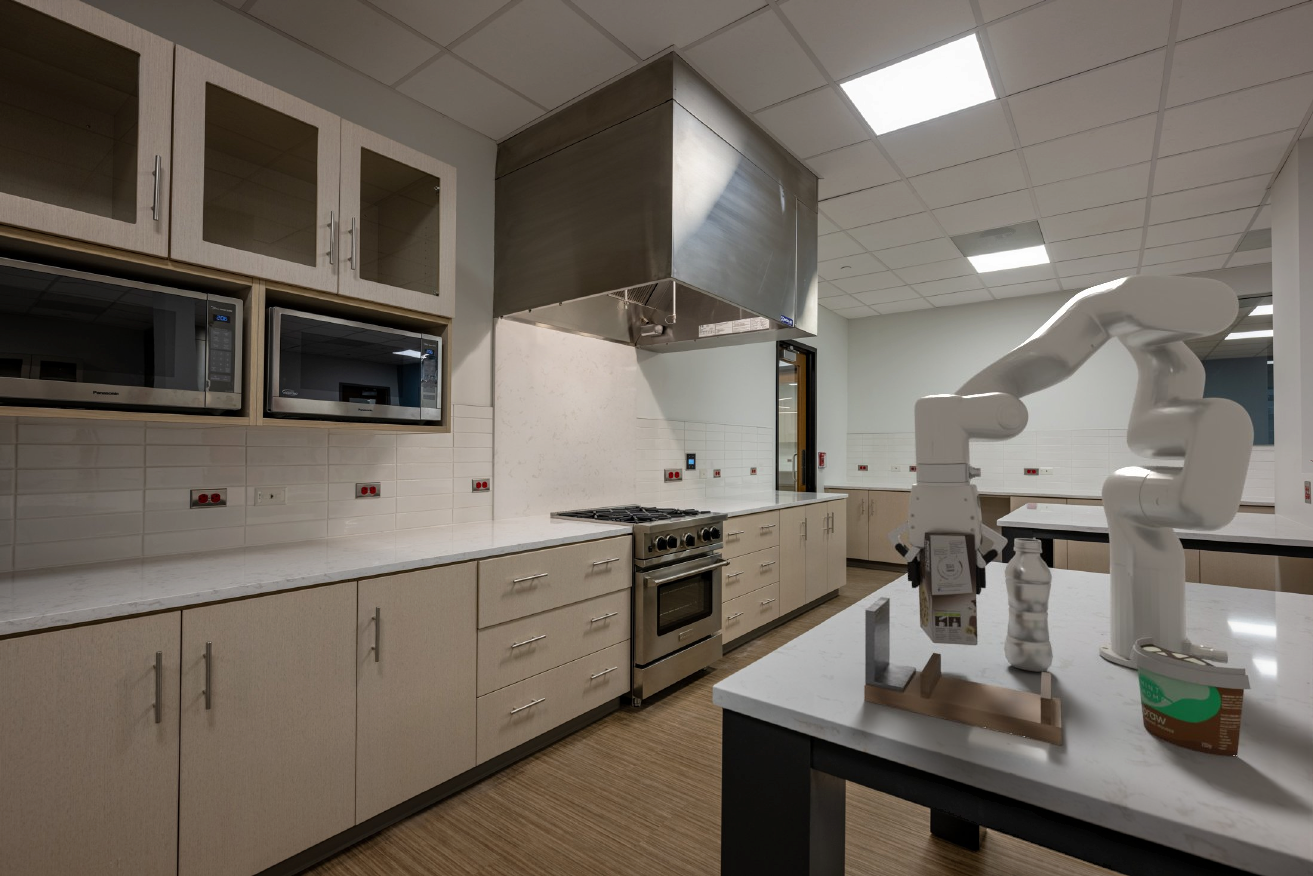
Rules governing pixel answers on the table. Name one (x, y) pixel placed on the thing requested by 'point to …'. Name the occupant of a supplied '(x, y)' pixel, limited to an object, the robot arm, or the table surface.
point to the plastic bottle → (1028, 607)
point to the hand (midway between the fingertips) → (946, 589)
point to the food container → (1189, 699)
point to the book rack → (976, 703)
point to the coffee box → (948, 588)
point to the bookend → (882, 650)
